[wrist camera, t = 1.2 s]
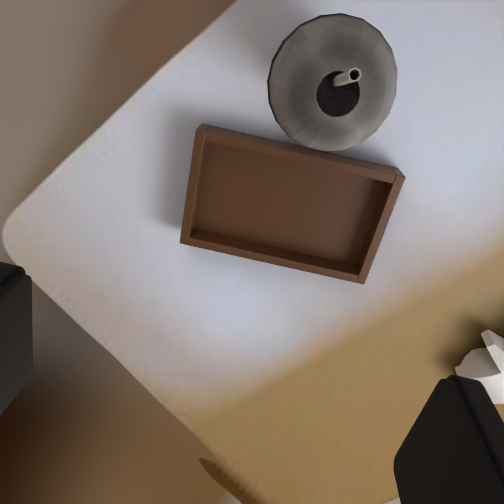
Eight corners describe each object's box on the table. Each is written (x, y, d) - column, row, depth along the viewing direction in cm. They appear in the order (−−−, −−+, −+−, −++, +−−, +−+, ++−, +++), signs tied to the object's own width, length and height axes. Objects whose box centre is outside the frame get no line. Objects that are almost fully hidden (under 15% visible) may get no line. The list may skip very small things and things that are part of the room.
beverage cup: (270, 115, 36) (249, 189, 18) (278, 17, 33) (263, -9, 15) (356, 122, 36) (421, 205, 18) (373, 25, 33) (472, 7, 15)
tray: (398, 168, 37) (405, 176, 35) (360, 271, 42) (364, 284, 40) (202, 123, 37) (195, 128, 35) (185, 232, 42) (179, 243, 39)
